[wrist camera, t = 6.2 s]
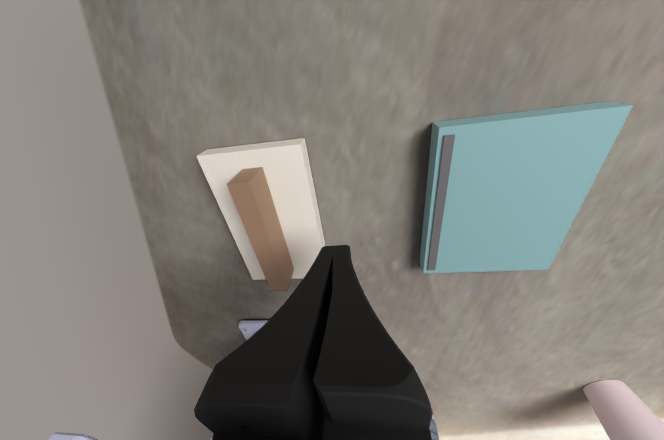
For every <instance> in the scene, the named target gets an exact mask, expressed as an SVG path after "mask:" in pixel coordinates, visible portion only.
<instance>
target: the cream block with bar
mask: <svg viewBox="0 0 664 440" xmlns="http://www.w3.org/2000/svg"><path fill="white" fill-rule="evenodd" d="M196 157H197V159H198V161H199V163H200V165H201V168H202V170H203V172H204V174H205V176H206V179H207V181H208V183H209V185H210V187H211V189H212V192H213V194H214V196H215V198H216V200H217V203H218V205H219V207H220V209H221V211H222V213H223V216H224V218H225V220H226V222H227V224H228V226H229V229H230V231H231V233H232V235H233V237H234V240H235V242H236V244H237V246H238V248H239V250H240V253H241V255H242V257H243V259H244V261H245V264H246V266H247V268H248V270H249V272H250V274H251V277H252V279H253V280H265V279H266V281H267V283H268V285H269V288H270V290H271V291H288V288H289V285H290V282H291V279H297V278H304V277H305V275H306V274H307V272H308V271H309V269H310V268H311V266H312V264H313V263H314V261H315V259H316V257H317V256H318V254H319V252H320V250H321V248H322V247H323V246H325V241H324V236H323V231H322V226H321V220H320V215H319V210H318V205H317V200H316V195H315V189H314V184H313V179H312V174H311V169H310V164H309V158H308V153H307V148H306V143H305V138H300V139H292V140H284V141H275V142H267V143H258V144H250V145H242V146H233V147H225V148H216V149H208V150H206V151H204V152H202V153H201V154H199V155H197V156H196Z"/></svg>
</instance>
